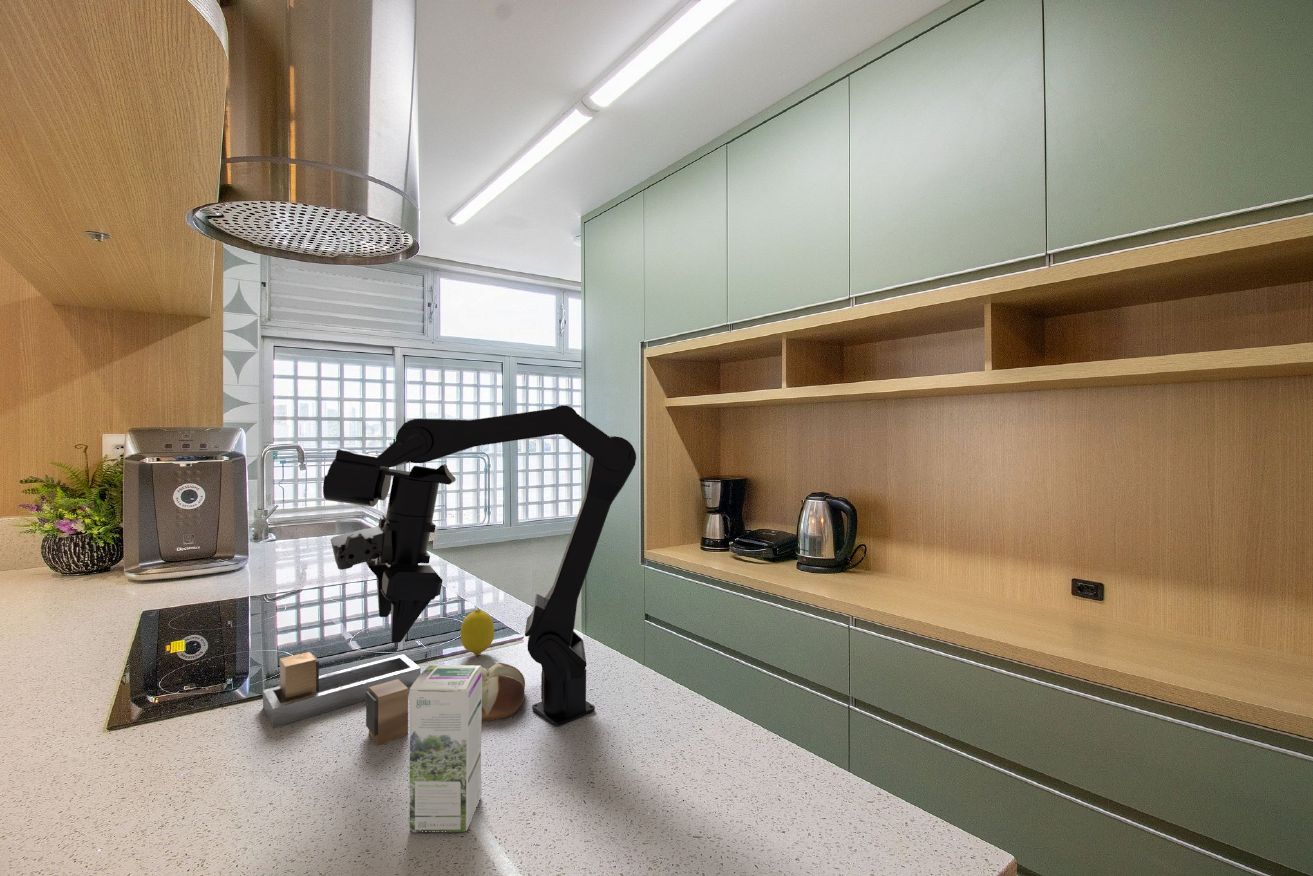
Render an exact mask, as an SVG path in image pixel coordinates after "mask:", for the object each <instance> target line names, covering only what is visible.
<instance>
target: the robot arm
mask: <svg viewBox="0 0 1313 876" xmlns="http://www.w3.org/2000/svg"><path fill="white" fill-rule="evenodd" d="M555 435H561V436H563V437H565V438H566V439H567V440H568V441H570V442H571V443H572V444H574V445H575V446H577V447H578V448H579V449H581V450H582V451H583V452H585V454H588V455H589V457H590V458H589V463H588V469H587V477H586V486H585V493H584V496H583V499H582V502H581V505H580V508H579V510H578V514H577V516H576V519H575V521H574V525H573V527H572V530H571V534H570V536H569V537H568V538H569V539H568V541H567V545H566V547H565V550H564V552H563V556H562V558H561V561H560V564H559V567H558V570H557V572H556V576H555V579H554V581H553V583H552V586H551V588H550V589H549V591H548V593H547V594H546V595H545V596H543V595H540V594H539V593H536V594H535V599H534V603H533V608H532V611H531V612H530V615H529V616H528V617H527V618H526V624H525V631H524V637H528V638H527V639H528V640H527V646H526V647H527V651H528V654H529V656H530V658H532V659H533V661H535V663H538V664H540V666H541V675H540V676H541V679H540V680H541V682H540V683H541V684H540V685H541V686H540V687H541V690H540V691H541V692H540V693H541V694H540V697H541V701H540V702H539V701H538V702H537V703H534V704H532V705H531V708H532V710H533V711H534V712H535V713H537V714H538V715H540V716H541V717H543V718H544V719H546V720H547V721H549V722H550V723H551V724H553V725H554V726H557V727H558V726H561V725H564V724H567V723H569V722H570V721H573V720H576V719H578V718H582V717H583V716H585V715H588V714H590V713H593V712H594V711H596V706H595V705H593V704H592V703H590V702H589V701H587V669H586V668H587V664H588V663H587V658H586V650H585V643H584V642H585V641H584V639H583V638H582V637H581V636H579V635H578V634H577V633H576V632H575V631H574V629H575V624H576V623H575V622H576V615H577V607H578V602H579V601H578V600H579V596H580V593H581V592H582V591H581V590H582V589H583V585H584V583H585V580H586V577H587V574H588V571H589V568H590V565H591V563H592V559H593V557H594V554H595V551H596V548H597V546H598V542H599V539H600V537H601V534H602V530H603V528H604V526H605V523H606V519H607V517H608V513H609V511H610V509H611V505H612V504H613V503H614V500H615V499H616V497H618V495H619V493H621V491H622V489H623V488H624V486H625V484H626V482H627V480H628V479H629V477H630V475H631V474H632V471H633V469H634V468H635V466H636V462H637V453H636V450H635V448H634V445H632V443H631V442H630V440H627V439H626V438H623V437H621V436H614V435H607V433H605V432H604V431H602V430H601V429H600V428H598V427H597V426H595V425H594V424H593V423H591V421H588V420H587V419H585V418H584V417H583V416H581V415H580V414H578V413H577V411H576V409H574V408H573V407H571V406H569V405H564V404H563V405H561V404H560V405H558V406H556V407H553V408H548V409H541V410H540V409H538V410H533V411H526V412H525V411H524V412H519V413H512V414H505V415H498V416H491V417H490V416H489V417H484V418H476V419H444V418H442V419H441V418H439V419H438V418H413V419H410V420H407V421H405V422H404V423H403V424H402V425H401V427H400V428H399V429H398V430H397V432H396V437H395V441H394V442H393V443H392V444H391V445H389V446H388V447H387V448H386V449H385V450H384V451H381V453H380V454H379V455H374V454H366V453H363V452H357V451H355V450H351V449H346V448H341V449H338V450H336V452H335V453H336V454H335V458H334V459H333V461H332V462H331V464H330V466H329V468H328V470H327V473H326V474H325V476H324V479H323V484H322V494H323V497H324V499H325V500H326V501H329V502H330V501H331V502H337V503H345V504H350V505H351V504H352V505H357V506H363V507H364V506H365V507H372V508H374V507H375V506H377V503H379V501H385V500H386V499H387V497H388V495H389V498H388V503H387V508H386V514H382V516H381V517H379V521H378V524H377V526H374V527H370V528H363V529H362V528H361V529H359V530H354V531H351V532H348V533H344V534H340V535H336V536H333V537H332V538H330V543H331V547H332V551H333V556H334V557H333V558H334V559H335V563H336V565H337V569H338V570H347V569H351V568H353V566H356V565H359V564H360V565H361V564H363V563H366V565H367V567H368V568H369V570H370V571H371V572H372V573H373V574H374V575H375V577H376V578H375V579H376V587H377V588H376V590H377V591H376V592H377V603H378V605H377V606H378V616H379V617H380V618H387V617H388V616H389V615H390V641H391V643H393V644H394V643H395V644H396V643H402V641H403V639H404V638H405V636H406V635H407V634H408V632H410V630H411V628H412V627H413V626H414V623H416V621H417V619H419V617H420V616H421V614H422V613H423V612H424V611H425V609H426V608H427V606H429V604H430V603H431V601H434V600H435V598H436V597H438V596H440V595H441V590H442V587H443V586H442V585H443V582H444V581H443V579H442V578H441V576H440V575H439V574H438V572H436V571H435V569H434V568H433V567H432V565H430V559H431V555H430V554H429V553H428V546H429V541H430V536H431V533H435V532H436V527H437V525H436V524H435V523H434V522H433V518H434V514H435V507H436V502H437V497H438V490H439V486H440V484H442V485H443V484H444V485H451V484H453V483H455V482H456V480H457V479H456V477H455V476H454V474H452V472H451V471H450V470H449V468H448V465H447V464H442V465H439V467H438V468H433V467H427V466H422V465H421V466H420V465H413V466H412V468H411V469H410V470H409V471H407V470H402V469H401V470H400V469H394V468H393V467H397V466H402V465H406V464H408V463H414V464H424V463H428V462H432V461H436V460H438V459H442V458H445V457H448V456H451V455H453V454H456V453H459V452H463V451H466V450H469V449H472V448H474V447H480V446H488V445H493V444H494V445H495V444H500V443H506V442H507V443H508V442H514V441H521V440H527V439H533V438H540V437H547V436H555ZM391 481H392V482H391ZM389 491H390V493H389Z"/></svg>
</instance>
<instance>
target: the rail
mask: <svg viewBox="0 0 1313 876" xmlns="http://www.w3.org/2000/svg"><path fill="white" fill-rule="evenodd" d="M319 666H320V661H319V659H318V658H317V657H316V656H315V655H314V654H312V653H311V652H310V651H307V652H303V653H298V654H294V655H290V656H285V657H281V658H279V685H278V686H274V687H270V688H267V689H263V690H262V708H263V711H264V713H265V715H266V716H267V719H268V721H269V722H270V724H271V726H272V728H276V727H281V726H283V725H287V724H290V723H293V722H298V721H301V720H304V719H307V718H310V717H314V716H317V715H321V714H324V713H328V712H331V711H334V710H337V709H341V708H344V707H345V708H346V707H347V706H351V705H354V704H357V703H361V702H366V692H367V691H369V687H372V686H375V685H379V684H382V683H386V682H389V681H393V680H397V679H399V680H400V681H401V682H402V683H403V684H404V685H405V686H406V687H407V688H408V689H409V688H410V687H411V686H412V685H413V683H414V682H415V681H416V679H417V678H418V677H419V675H420V674H421V667H420V666H419V665H418V664H417V663H415V662H414V661H413V660H411V658H409V657H408V656H406V655H405V654H403V653H402V654H399V655H395V656H390V657H387V658H383V659H380V660H379V659H378V660H376V661H375V660H374V661H372V662H369V663H364V664H360V665H357V666H353V667H349V668H345V669H341V670H337V671H332V672H329V673H325V674H322V675H320V667H319Z"/></svg>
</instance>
